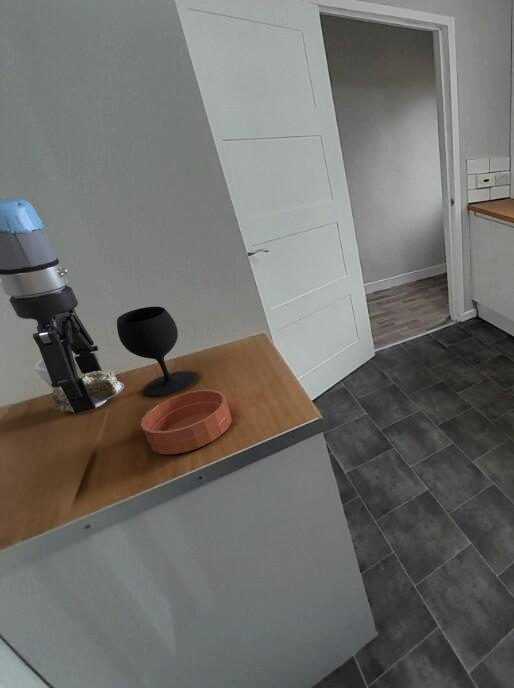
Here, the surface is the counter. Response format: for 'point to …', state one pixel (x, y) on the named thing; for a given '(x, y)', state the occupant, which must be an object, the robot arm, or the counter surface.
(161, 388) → the wine glass
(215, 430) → the bowl
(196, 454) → the counter surface
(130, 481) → the counter surface
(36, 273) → the robot arm
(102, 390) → the cake
